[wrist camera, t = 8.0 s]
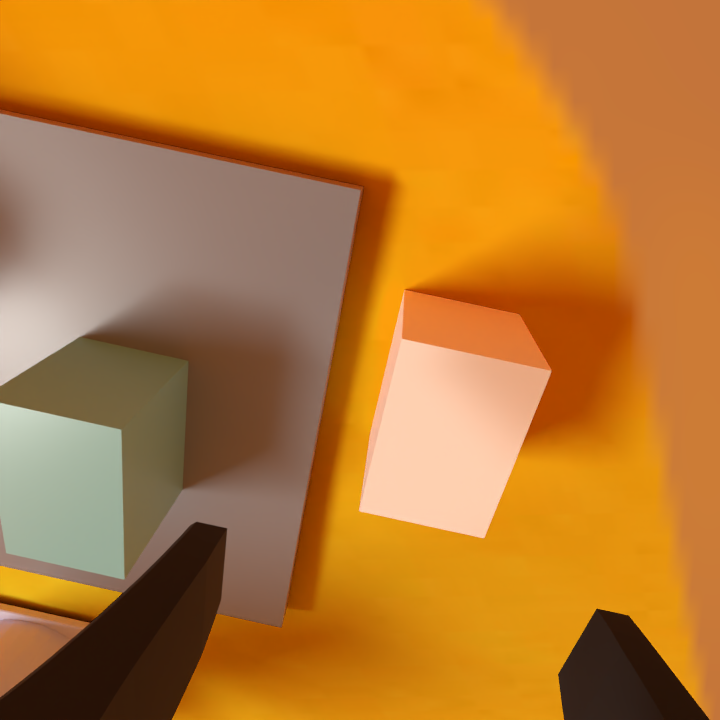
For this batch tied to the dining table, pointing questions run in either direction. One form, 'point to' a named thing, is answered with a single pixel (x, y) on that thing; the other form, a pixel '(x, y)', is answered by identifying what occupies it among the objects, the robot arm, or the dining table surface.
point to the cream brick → (451, 413)
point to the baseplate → (186, 319)
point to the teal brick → (91, 454)
